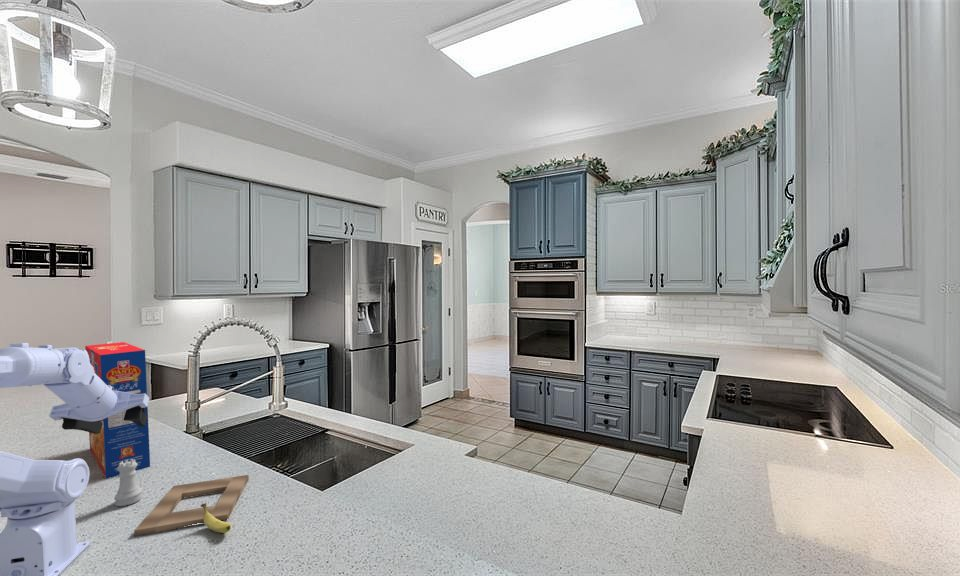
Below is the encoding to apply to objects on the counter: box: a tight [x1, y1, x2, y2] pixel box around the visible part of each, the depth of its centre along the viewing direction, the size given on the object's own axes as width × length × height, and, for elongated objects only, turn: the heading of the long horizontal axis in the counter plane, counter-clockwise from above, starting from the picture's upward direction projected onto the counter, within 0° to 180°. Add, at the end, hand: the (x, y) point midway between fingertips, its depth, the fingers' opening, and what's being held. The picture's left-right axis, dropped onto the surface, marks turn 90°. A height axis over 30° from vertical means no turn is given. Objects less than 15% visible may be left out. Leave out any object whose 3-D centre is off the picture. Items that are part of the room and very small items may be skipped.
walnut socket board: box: [134, 474, 250, 537], centre depth 83 cm, size 17×14×1 cm
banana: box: [200, 502, 232, 534], centre depth 73 cm, size 8×2×4 cm, turn 61°
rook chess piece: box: [113, 459, 144, 507], centre depth 85 cm, size 4×4×8 cm
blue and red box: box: [84, 341, 151, 480], centre depth 108 cm, size 28×8×28 cm, turn 48°
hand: (122, 425), depth 86 cm, fingers open, 7 cm apart
